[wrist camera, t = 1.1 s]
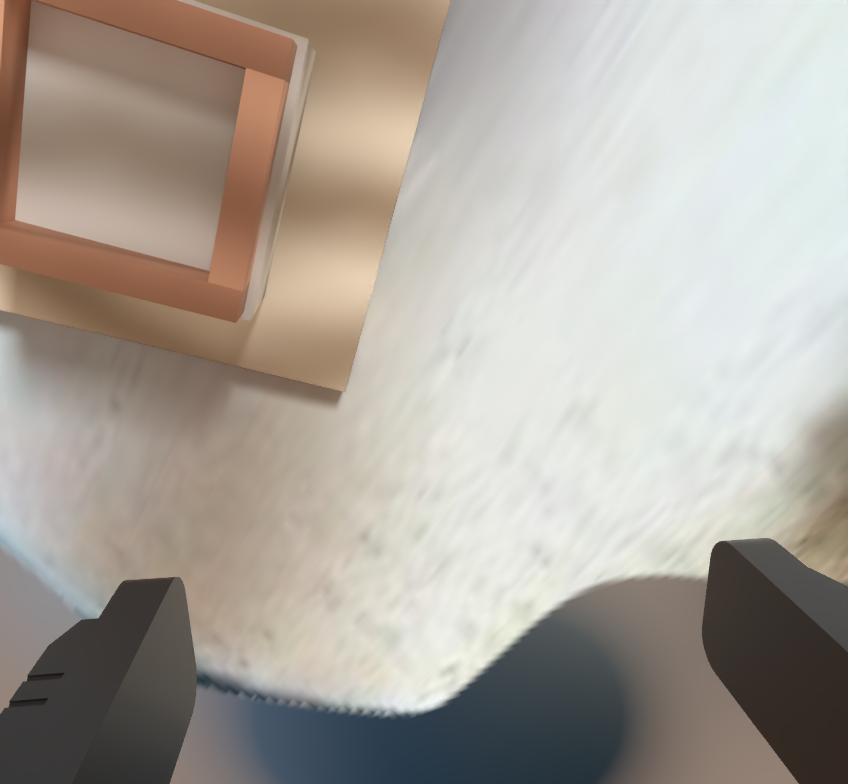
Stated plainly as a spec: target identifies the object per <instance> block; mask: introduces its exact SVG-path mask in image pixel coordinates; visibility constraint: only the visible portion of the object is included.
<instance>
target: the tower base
mask: <svg viewBox="0 0 848 784" xmlns="http://www.w3.org/2000/svg"><path fill="white" fill-rule="evenodd" d="M450 1H451V0H0V310H2V311H6V312H10V313H14V314H19V315H23V316H27V317H31V318H35V319H40V320H44V321H48V322H52V323H56V324H61V325H65V326H69V327H73V328H78V329H82V330H86V331H90V332H94V333H99V334H103V335H107V336H111V337H115V338H120V339H124V340H128V341H132V342H137V343H141V344H145V345H149V346H153V347H158V348H162V349H166V350H170V351H174V352H179V353H183V354H187V355H191V356H195V357H200V358H204V359H208V360H212V361H217V362H221V363H225V364H229V365H233V366H238V367H242V368H246V369H250V370H254V371H259V372H263V373H267V374H271V375H275V376H280V377H284V378H288V379H292V380H297V381H301V382H305V383H309V384H313V385H318V386H322V387H326V388H330V389H334V390H339V391H343V392H345V391H346V387H347V383H348V380H349V376H350V372H351V369H352V365H353V361H354V357H355V354H356V350H357V346H358V343H359V339H360V335H361V331H362V328H363V324H364V320H365V317H366V313H367V309H368V305H369V302H370V298H371V294H372V291H373V287H374V283H375V279H376V276H377V272H378V268H379V265H380V261H381V257H382V253H383V250H384V246H385V242H386V239H387V235H388V231H389V227H390V224H391V220H392V216H393V213H394V209H395V205H396V201H397V198H398V194H399V190H400V187H401V183H402V179H403V175H404V172H405V168H406V164H407V161H408V157H409V153H410V149H411V146H412V142H413V138H414V135H415V131H416V127H417V123H418V120H419V116H420V112H421V109H422V105H423V101H424V97H425V94H426V90H427V86H428V83H429V79H430V75H431V71H432V68H433V64H434V60H435V57H436V53H437V49H438V45H439V42H440V38H441V34H442V31H443V27H444V23H445V19H446V16H447V12H448V8H449V5H450Z"/></svg>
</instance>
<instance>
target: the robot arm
mask: <svg viewBox="0 0 848 784" xmlns="http://www.w3.org/2000/svg"><path fill="white" fill-rule="evenodd" d="M702 638H703V645H704V649H705V652H706V655H707V658H708V661H709V663H710V665H711V667H712V669H713V670H714V672H715V673H716V675H717V676H718V677H719V679H720V680H721V681H722V683H723V684H724V685H725V687H726V688H727V689H728V691H729V692H730V693H731V694H732V696H733V697H734V698H735V700H736V701H737V702H738V704H739V705H740V706H741V708H742V709H743V710H744V712H745V713H746V714H747V716H748V717H749V718H750V720H751V721H752V722H753V724H754V725H755V726H756V728H757V729H758V730H759V732H760V733H761V734H762V735H763V737H764V738H765V739H766V741H767V742H768V743H769V745H770V746H771V747H772V749H773V750H774V751H775V753H776V754H777V755H778V757H779V758H780V759H781V761H782V762H783V763H784V765H785V766H786V767H787V768H788V770H789V771H790V773H791V774H792V775H793V776H794V777H795V779H796V780H797V782H798V783H799V784H848V587H847V586H845V585H843V584H841V583H839V582H837V581H835V580H833V579H831V578H829V577H827V576H825V575H823V574H821V573H819V572H817V571H815V570H813V569H811V568H808V567H806V566H805V565H804V564H803V563H802V562H800V561H799V560H798V559H797V558H795V557H794V556H793V555H792V554H790V553H789V552H788V551H787V550H786V549H784V548H783V547H782V546H781V545H779V544H778V543H777V542H775V541H774V540H772V539H769V538H760V539H745V540H731V541H720V542H718V543H717V544H716V545H715V546H714V548H713V550H712V553H711V558H710V566H709V574H708V582H707V590H706V599H705V607H704V616H703V625H702ZM196 683H197V675H196V663H195V656H194V649H193V642H192V635H191V628H190V621H189V614H188V607H187V600H186V593H185V588H184V584H183V582H182V580H181V579H180V578H179V577H169V578H154V579H139V580H126V581H123V582H122V583H121V584H120V586H119V587H118V589H117V590H116V592H115V593H114V595H113V596H112V598H111V600H110V601H109V603H108V604H107V606H106V608H105V609H104V611H103V612H102V614H101V616H100V617H99V619H86V620H81V621H80V622H78V623H77V624H76V625H75V626H73V627H72V628H71V629H69V630H68V631H67V632H65V633H64V634H63V635H62V636H60V637H59V638H58V639H57V640H55V641H54V642H53V643H52V644H50V645H49V646H48V647H47V649H46V650H45V652H44V653H43V654H42V656H41V657H40V659H39V660H38V661H37V663H36V664H35V666H34V667H33V669H32V670H31V671H30V673H29V674H28V679H27V681H26V682H23V683H22V684H21V686H20V687H19V688H18V690H17V691H16V693H15V694H14V696H13V697H12V699H11V700H10V704H9V708H5V709H4V710H3V711H2V713H1V714H0V784H169V783H170V781H171V777H172V774H173V771H174V768H175V765H176V762H177V759H178V756H179V753H180V750H181V747H182V744H183V741H184V738H185V735H186V732H187V729H188V725H189V722H190V720H191V716H192V713H193V708H194V703H195V696H196Z"/></svg>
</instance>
